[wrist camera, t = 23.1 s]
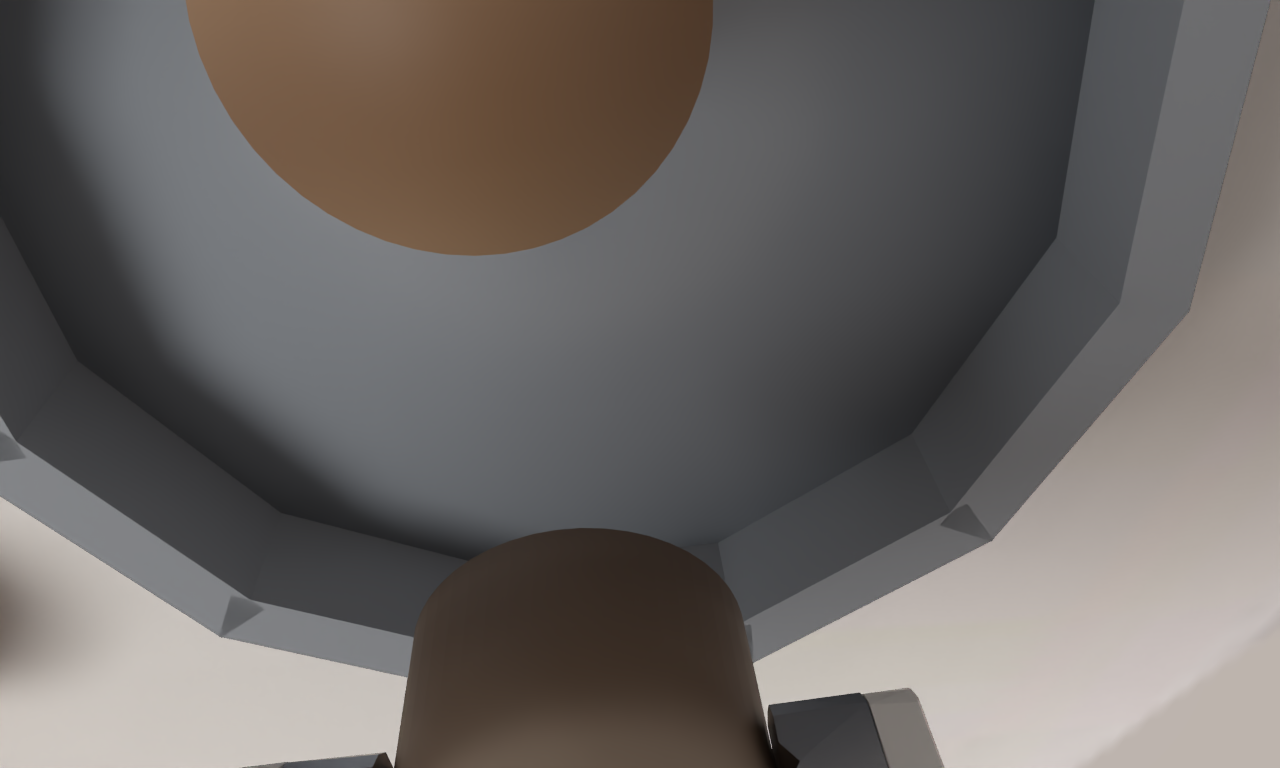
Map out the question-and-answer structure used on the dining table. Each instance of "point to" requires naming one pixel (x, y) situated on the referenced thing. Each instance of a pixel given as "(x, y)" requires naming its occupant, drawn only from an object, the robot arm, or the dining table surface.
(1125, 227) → the round tray
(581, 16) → the light brown rounded cylinder
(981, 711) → the dining table surface
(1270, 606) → the dining table surface
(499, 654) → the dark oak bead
